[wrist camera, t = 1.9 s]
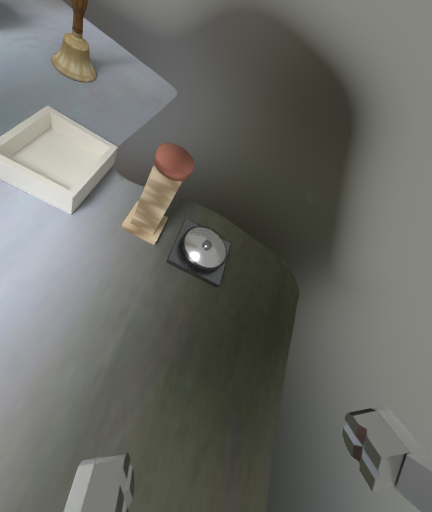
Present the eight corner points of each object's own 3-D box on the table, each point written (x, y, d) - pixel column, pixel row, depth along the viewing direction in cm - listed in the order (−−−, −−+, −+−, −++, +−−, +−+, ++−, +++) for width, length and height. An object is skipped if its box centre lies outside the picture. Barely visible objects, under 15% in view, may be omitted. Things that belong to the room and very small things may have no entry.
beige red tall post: (120, 227, 42) (145, 157, 30) (135, 204, 46) (163, 133, 34) (154, 245, 44) (190, 184, 32) (166, 220, 47) (202, 158, 36)
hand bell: (104, 78, 57) (117, -10, 45) (75, 85, 52) (81, -12, 40) (74, 52, 57) (79, -45, 45) (41, 56, 51) (36, -52, 39)
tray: (-15, 172, 36) (-21, 150, 33) (47, 126, 44) (47, 105, 41) (71, 214, 39) (72, 198, 36) (114, 164, 47) (118, 147, 44)
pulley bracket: (166, 262, 43) (173, 252, 41) (184, 221, 49) (191, 210, 47) (216, 287, 46) (226, 280, 43) (228, 245, 52) (237, 237, 49)
